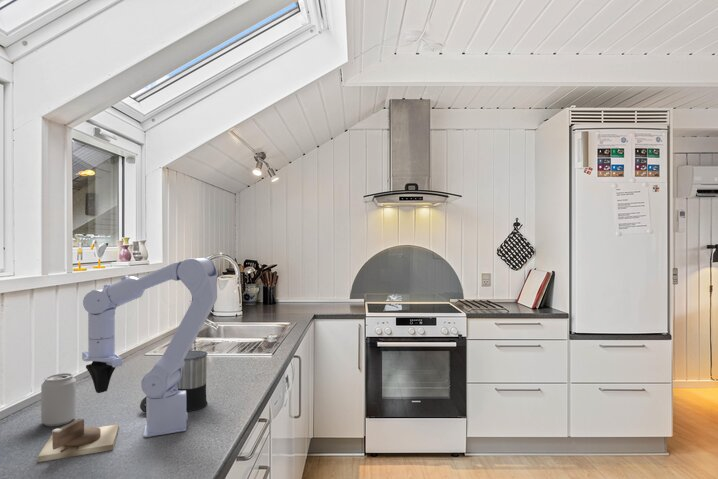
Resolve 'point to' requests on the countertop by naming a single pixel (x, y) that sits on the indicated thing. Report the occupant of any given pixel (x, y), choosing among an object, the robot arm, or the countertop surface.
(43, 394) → the can
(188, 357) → the milk frother
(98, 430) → the dial
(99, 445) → the dial plate
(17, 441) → the countertop surface
